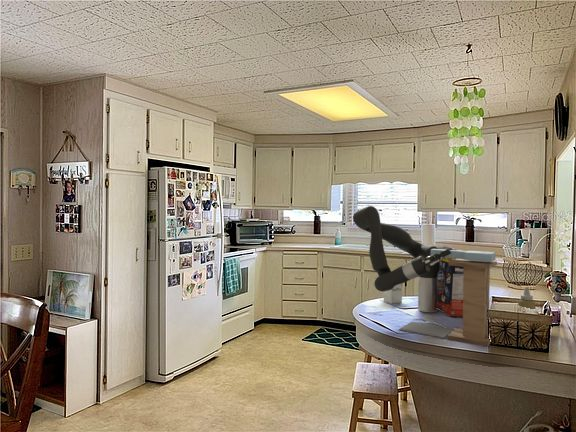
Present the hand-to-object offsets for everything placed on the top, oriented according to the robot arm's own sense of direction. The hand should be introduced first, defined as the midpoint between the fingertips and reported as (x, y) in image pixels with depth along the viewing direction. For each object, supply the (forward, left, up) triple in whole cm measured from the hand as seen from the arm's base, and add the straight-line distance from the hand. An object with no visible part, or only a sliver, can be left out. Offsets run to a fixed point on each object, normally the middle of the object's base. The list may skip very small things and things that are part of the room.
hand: (451, 250), depth 178 cm
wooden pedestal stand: (0, +9, -35) cm, 36 cm away
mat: (0, -9, -35) cm, 36 cm away
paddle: (0, +4, -3) cm, 5 cm away
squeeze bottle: (-30, +24, -35) cm, 52 cm away
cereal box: (-41, -11, -35) cm, 55 cm away
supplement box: (-43, -43, -35) cm, 70 cm away
